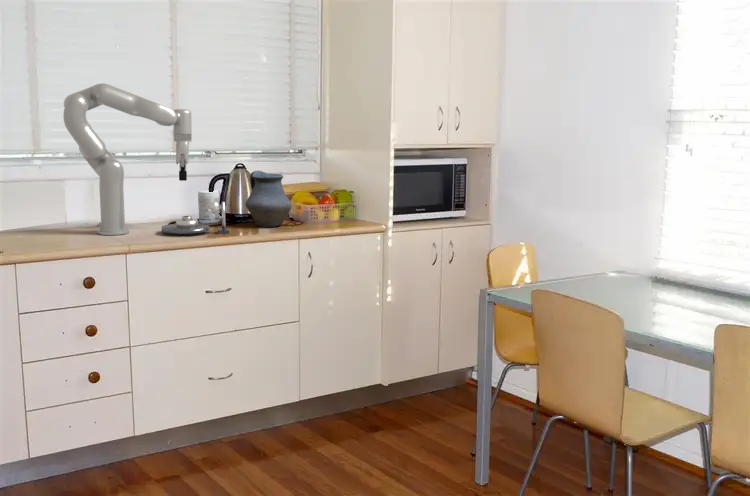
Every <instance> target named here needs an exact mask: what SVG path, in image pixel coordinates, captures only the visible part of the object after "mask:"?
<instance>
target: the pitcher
mask: <svg viewBox="0 0 750 496" xmlns="http://www.w3.org/2000/svg"><path fill="white" fill-rule="evenodd" d="M283 178H284V175H283V174H282V173H269V172H265V171H262V170H254V171H252V172H251V174H250V178H249V183H250V187H251V192H250V194H249V196H248V198H247V199H246V201H245V203H244V205H245V208H246V209H247V211H248V212H249V214H250V215H251V217H252V220H253V221H254V222H255V224H256V226H257V227H261V228H274V227H279V226H282V224H284V221H285V220H286V218H287V216H288V215H289V213H290V211H291V209H292V203H291V201H290V199H289V197H288V196H287V194H286V193H285V190H284V187H283V184H282V180H283Z"/></svg>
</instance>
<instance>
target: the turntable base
mask: <svg viewBox="0 0 750 496" xmlns="http://www.w3.org/2000/svg"><path fill="white" fill-rule="evenodd" d="M197 234H198V233H193V234H176V235H177V236H188V235H189V236H191V235H197Z"/></svg>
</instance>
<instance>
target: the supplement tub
mask: <svg viewBox="0 0 750 496" xmlns="http://www.w3.org/2000/svg"><path fill="white" fill-rule="evenodd" d="M213 190H214V191H213V192H209V189H206V190H198V193H197V198H198V201H197V203H198V204H197V205H198V223H200V224H213V213H211V212H210V211H209V210H208V205H209V204H210V203H211V202H216V203H217V204H218V205H219V206H220V195H219V190H216V189H213ZM219 213H220V209H219V210H218V211H217V212H216V213H214V223H215V224H216V223H219V222H220V219H221V217H220V214H221V213H220V214H219Z"/></svg>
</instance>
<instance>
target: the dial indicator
mask: <svg viewBox="0 0 750 496" xmlns="http://www.w3.org/2000/svg"><path fill="white" fill-rule="evenodd" d="M208 210H209V211H210V212H211V213H213V223H212V225H215V224H216V223H214V213H216V212H217V211H218V210H219V211H220V210H221V228H217V235H227V234H228V235H230V233H231V228H226V201H221V206H220V204H219V205H218V204H217V203H216V202H211V203H210V204H209V205H208Z"/></svg>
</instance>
